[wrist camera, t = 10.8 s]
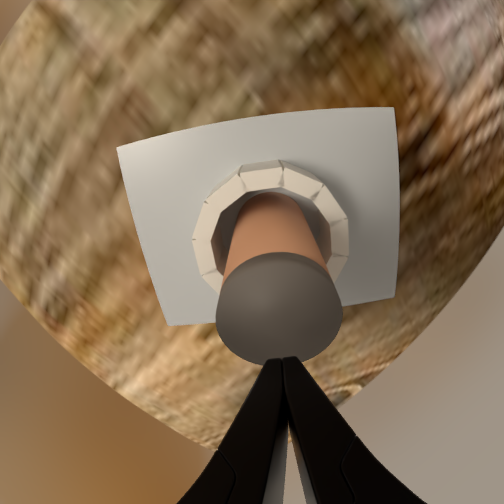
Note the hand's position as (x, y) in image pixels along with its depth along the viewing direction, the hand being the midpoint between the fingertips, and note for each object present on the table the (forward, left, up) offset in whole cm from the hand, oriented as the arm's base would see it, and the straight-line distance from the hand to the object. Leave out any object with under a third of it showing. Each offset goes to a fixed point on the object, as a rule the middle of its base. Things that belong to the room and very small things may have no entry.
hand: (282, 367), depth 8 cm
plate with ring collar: (0, 0, -13) cm, 13 cm away
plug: (0, 0, -12) cm, 12 cm away
